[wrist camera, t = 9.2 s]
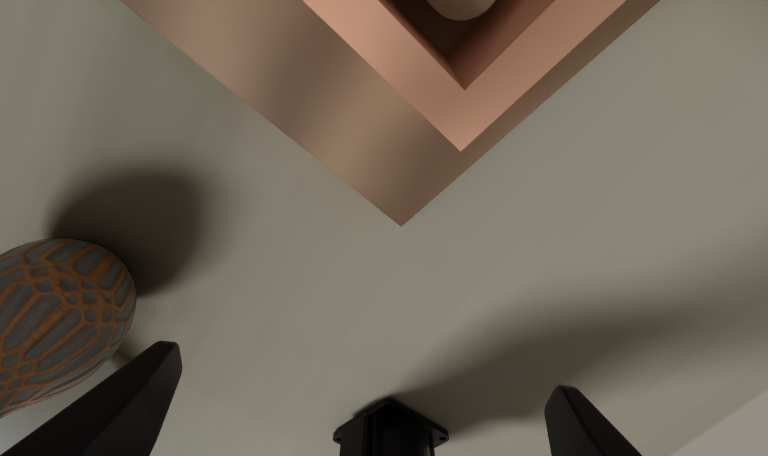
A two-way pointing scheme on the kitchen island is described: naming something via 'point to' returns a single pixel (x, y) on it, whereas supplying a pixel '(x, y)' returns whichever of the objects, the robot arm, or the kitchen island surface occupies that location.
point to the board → (354, 86)
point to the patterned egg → (58, 317)
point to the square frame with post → (465, 54)
